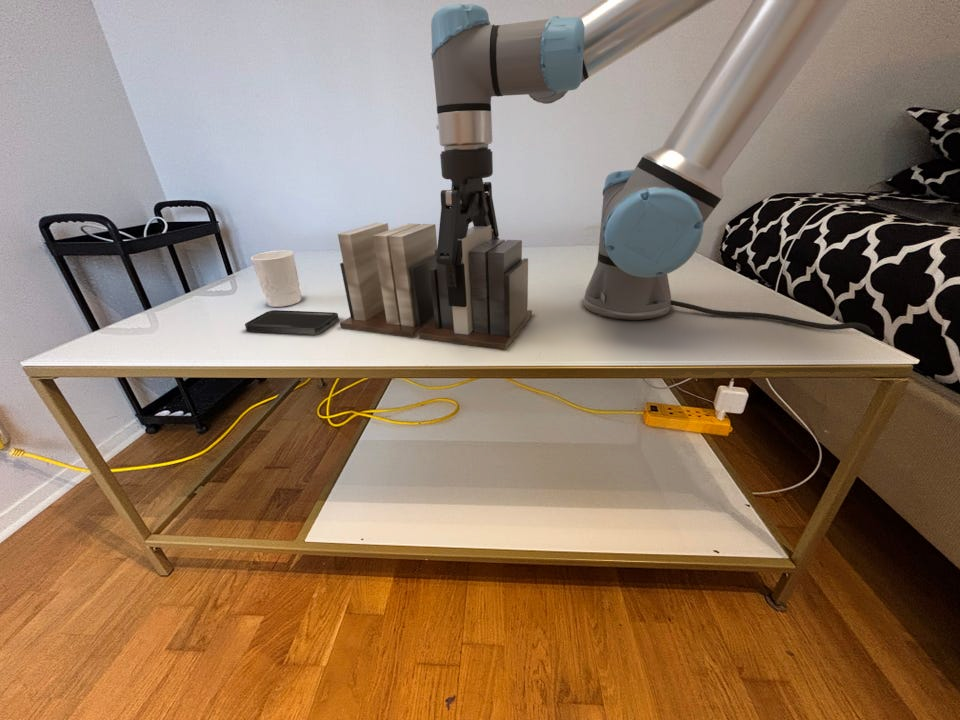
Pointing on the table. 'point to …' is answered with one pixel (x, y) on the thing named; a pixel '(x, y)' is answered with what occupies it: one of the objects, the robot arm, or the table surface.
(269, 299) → the white cup
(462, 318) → the white book
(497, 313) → the grey stand
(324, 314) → the phone
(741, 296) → the table surface
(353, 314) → the beige book set
